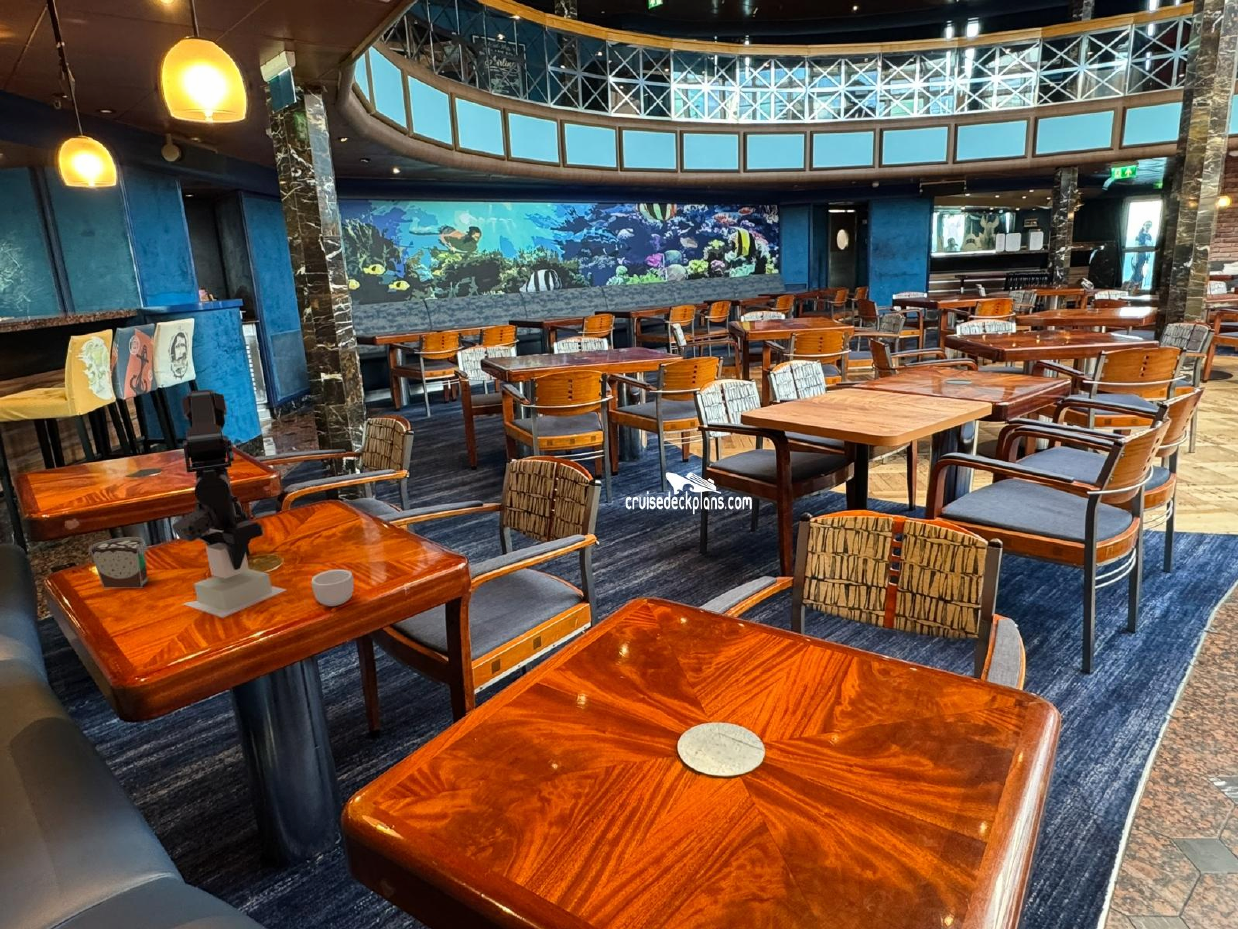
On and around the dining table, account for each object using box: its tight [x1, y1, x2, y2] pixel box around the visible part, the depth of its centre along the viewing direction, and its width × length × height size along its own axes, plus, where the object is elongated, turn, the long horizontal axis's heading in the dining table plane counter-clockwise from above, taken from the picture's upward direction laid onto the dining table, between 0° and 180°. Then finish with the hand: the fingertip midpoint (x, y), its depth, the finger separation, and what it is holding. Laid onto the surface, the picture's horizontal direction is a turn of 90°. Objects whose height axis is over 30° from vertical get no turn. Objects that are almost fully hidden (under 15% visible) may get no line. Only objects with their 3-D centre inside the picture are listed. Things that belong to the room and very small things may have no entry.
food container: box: [88, 536, 149, 589], centre depth 164 cm, size 12×6×10 cm, turn 84°
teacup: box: [311, 569, 354, 607], centre depth 149 cm, size 10×8×5 cm
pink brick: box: [205, 543, 250, 578], centre depth 150 cm, size 5×5×6 cm
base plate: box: [183, 585, 287, 619], centre depth 152 cm, size 14×14×1 cm
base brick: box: [193, 568, 272, 611], centre depth 151 cm, size 10×10×4 cm
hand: (229, 567), depth 150 cm, fingers closed on pink brick, 5 cm apart
